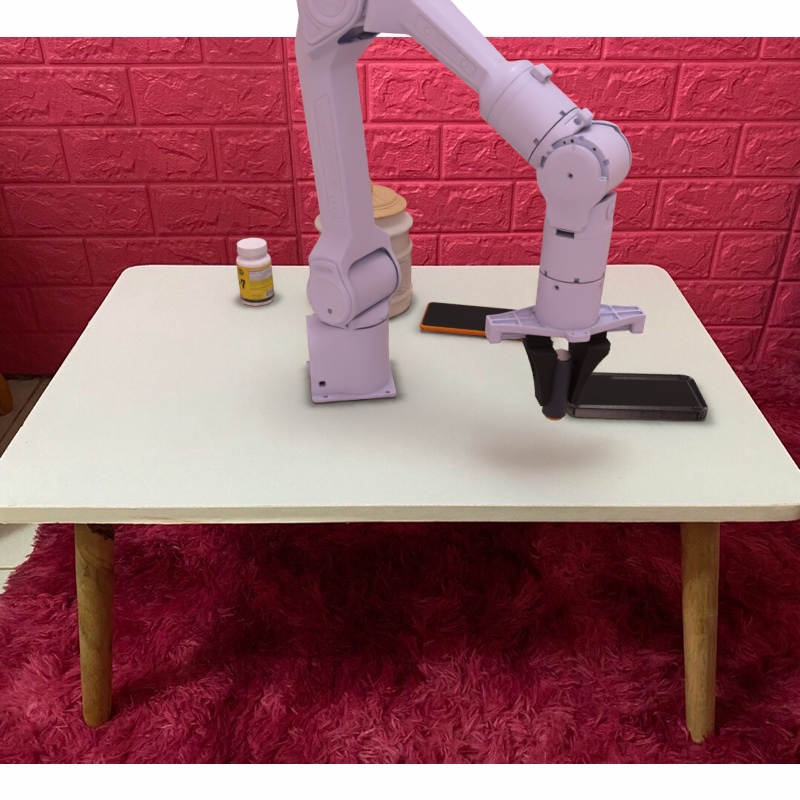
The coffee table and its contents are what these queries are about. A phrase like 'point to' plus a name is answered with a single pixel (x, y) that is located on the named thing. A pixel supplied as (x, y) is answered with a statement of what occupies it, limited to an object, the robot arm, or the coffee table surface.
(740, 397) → the coffee table surface
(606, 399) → the phone
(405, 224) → the jar
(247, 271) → the supplement bottle
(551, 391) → the lipstick
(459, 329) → the smartphone
